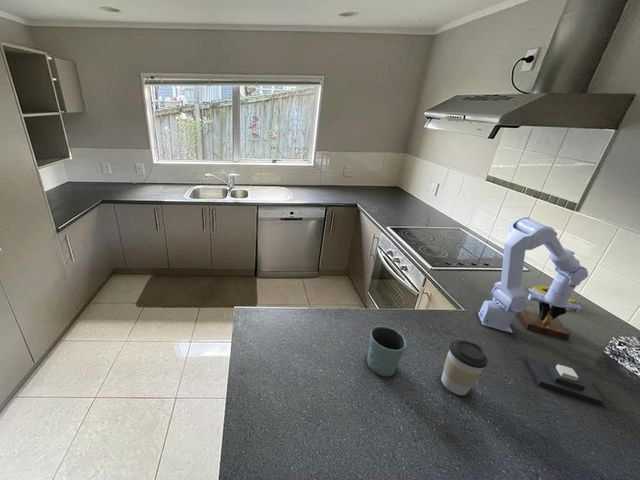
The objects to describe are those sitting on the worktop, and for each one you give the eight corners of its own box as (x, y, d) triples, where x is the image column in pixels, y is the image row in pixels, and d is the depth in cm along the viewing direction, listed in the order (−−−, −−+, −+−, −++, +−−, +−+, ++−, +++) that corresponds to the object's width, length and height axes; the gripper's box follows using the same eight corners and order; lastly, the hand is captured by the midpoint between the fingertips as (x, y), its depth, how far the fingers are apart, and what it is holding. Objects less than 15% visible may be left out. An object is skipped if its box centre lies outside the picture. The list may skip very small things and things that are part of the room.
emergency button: (550, 282, 133) (584, 302, 119) (546, 289, 134) (579, 310, 120) (530, 281, 133) (562, 301, 119) (526, 289, 134) (557, 310, 120)
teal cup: (402, 367, 91) (411, 339, 86) (388, 385, 85) (397, 356, 80) (373, 347, 98) (380, 321, 93) (358, 363, 92) (364, 335, 87)
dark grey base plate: (538, 385, 86) (543, 377, 85) (526, 361, 95) (530, 353, 93) (600, 405, 81) (607, 397, 80) (581, 378, 89) (587, 370, 88)
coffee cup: (455, 402, 80) (473, 364, 75) (430, 375, 88) (444, 339, 83) (479, 394, 83) (498, 357, 77) (452, 369, 91) (467, 333, 85)
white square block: (560, 376, 86) (563, 372, 85) (554, 367, 89) (557, 363, 88) (576, 381, 84) (578, 377, 84) (569, 372, 88) (572, 368, 87)
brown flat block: (526, 328, 109) (529, 323, 108) (517, 313, 118) (519, 308, 117) (567, 339, 105) (570, 334, 104) (554, 322, 113) (557, 317, 112)
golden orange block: (548, 325, 108) (553, 317, 106) (543, 324, 108) (547, 316, 107) (543, 317, 112) (547, 310, 110) (538, 316, 112) (542, 308, 111)
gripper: (580, 291, 105) (564, 319, 110) (531, 280, 111) (517, 307, 116) (591, 301, 99) (573, 331, 104) (538, 289, 105) (523, 318, 110)
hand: (544, 319), depth 110 cm, fingers closed on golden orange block, 2 cm apart
